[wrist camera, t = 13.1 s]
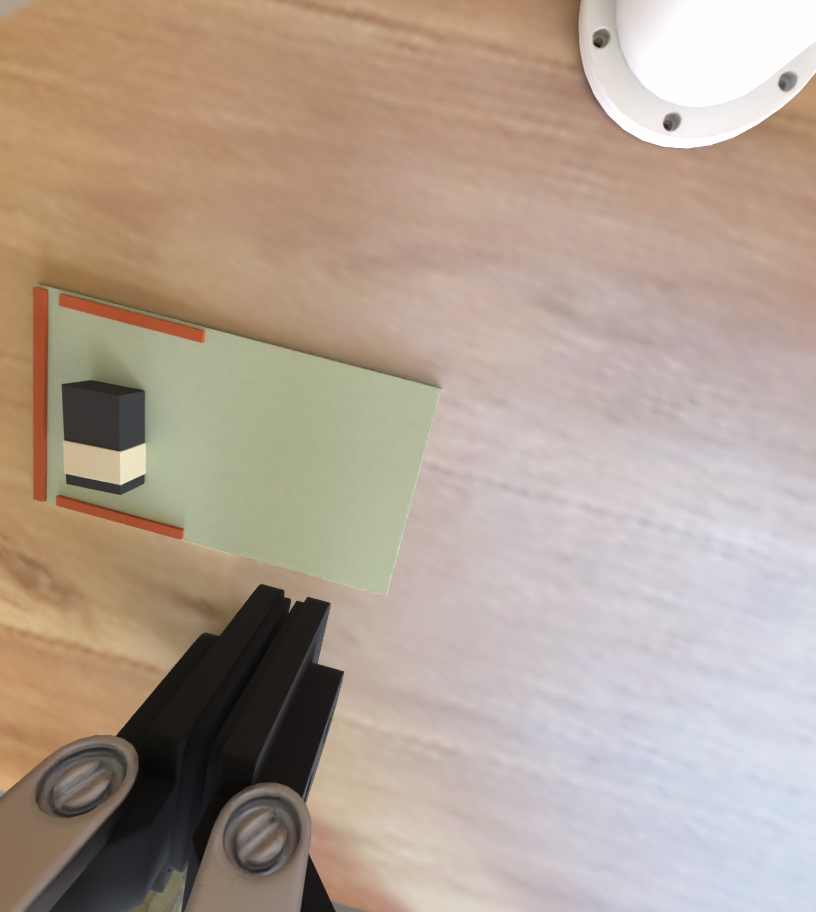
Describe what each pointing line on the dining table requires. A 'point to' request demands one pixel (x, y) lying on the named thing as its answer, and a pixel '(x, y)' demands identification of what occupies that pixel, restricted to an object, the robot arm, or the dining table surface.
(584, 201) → the dining table surface
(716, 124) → the robot arm
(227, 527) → the desk mat
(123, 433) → the eraser
